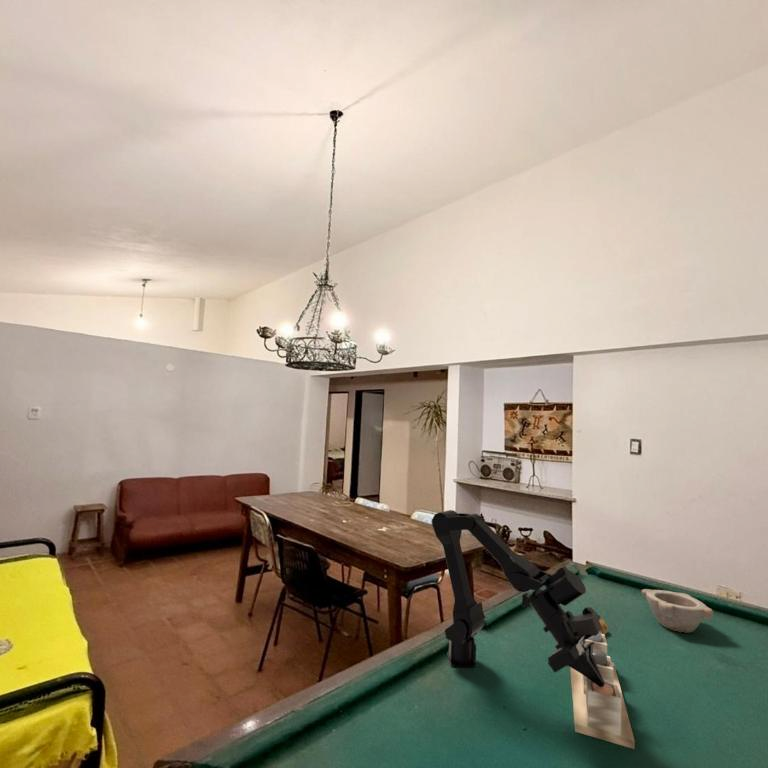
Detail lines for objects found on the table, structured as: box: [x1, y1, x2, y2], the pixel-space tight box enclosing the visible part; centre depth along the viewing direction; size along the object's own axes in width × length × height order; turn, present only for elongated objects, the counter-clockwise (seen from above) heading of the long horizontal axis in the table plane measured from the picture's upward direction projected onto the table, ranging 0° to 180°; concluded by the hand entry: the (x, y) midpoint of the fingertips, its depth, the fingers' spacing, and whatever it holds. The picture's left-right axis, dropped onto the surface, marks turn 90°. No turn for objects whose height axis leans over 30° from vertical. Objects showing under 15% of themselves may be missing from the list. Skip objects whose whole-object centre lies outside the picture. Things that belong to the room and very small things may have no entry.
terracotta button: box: [593, 682, 613, 696], centre depth 92 cm, size 4×4×4 cm
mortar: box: [641, 588, 714, 634], centre depth 142 cm, size 17×17×9 cm
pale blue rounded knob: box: [587, 631, 601, 642], centre depth 114 cm, size 4×4×4 cm
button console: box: [569, 634, 636, 750], centre depth 103 cm, size 11×31×8 cm, turn 158°
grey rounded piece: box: [593, 649, 608, 666], centre depth 103 cm, size 4×4×4 cm
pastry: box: [599, 618, 610, 636], centre depth 135 cm, size 9×7×4 cm
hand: (602, 685), depth 92 cm, fingers closed, pressing on terracotta button
